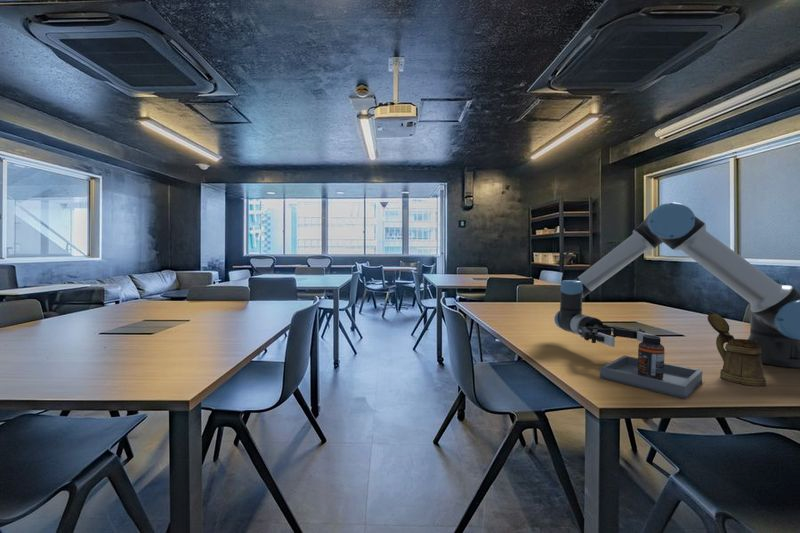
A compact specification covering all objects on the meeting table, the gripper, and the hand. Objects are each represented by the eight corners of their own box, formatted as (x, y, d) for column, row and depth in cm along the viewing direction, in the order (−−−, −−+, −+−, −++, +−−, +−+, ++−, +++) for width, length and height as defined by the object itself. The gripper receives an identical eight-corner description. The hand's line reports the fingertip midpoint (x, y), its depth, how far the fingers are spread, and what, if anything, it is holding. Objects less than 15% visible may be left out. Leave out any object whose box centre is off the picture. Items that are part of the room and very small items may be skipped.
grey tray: (702, 381, 97) (702, 370, 97) (684, 399, 85) (685, 386, 85) (624, 364, 112) (624, 355, 112) (599, 378, 100) (599, 367, 99)
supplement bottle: (632, 373, 101) (633, 333, 101) (651, 372, 102) (653, 333, 101) (648, 380, 95) (649, 338, 95) (669, 380, 96) (670, 338, 95)
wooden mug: (720, 369, 108) (721, 310, 107) (775, 385, 95) (777, 318, 94) (696, 371, 106) (697, 311, 106) (748, 387, 93) (751, 319, 92)
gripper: (619, 336, 126) (672, 352, 105) (554, 338, 123) (595, 355, 102) (619, 315, 126) (673, 327, 105) (554, 316, 123) (595, 329, 102)
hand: (634, 341), depth 104 cm, fingers open, 13 cm apart
